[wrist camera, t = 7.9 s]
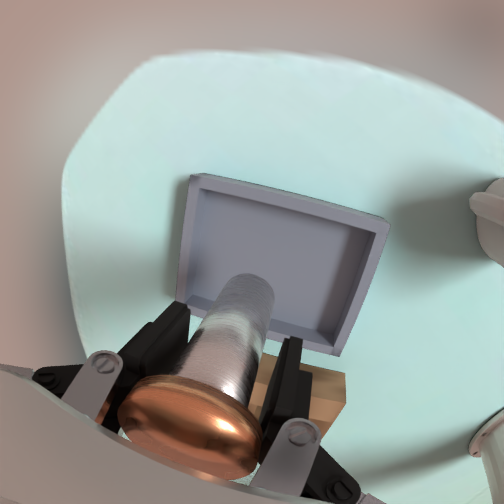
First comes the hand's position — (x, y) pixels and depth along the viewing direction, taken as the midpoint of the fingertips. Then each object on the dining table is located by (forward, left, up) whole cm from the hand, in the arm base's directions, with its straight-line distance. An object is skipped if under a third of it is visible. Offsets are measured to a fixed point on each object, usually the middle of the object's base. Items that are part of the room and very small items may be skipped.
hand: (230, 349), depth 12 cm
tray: (0, 0, -12) cm, 12 cm away
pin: (0, 0, -5) cm, 5 cm away
